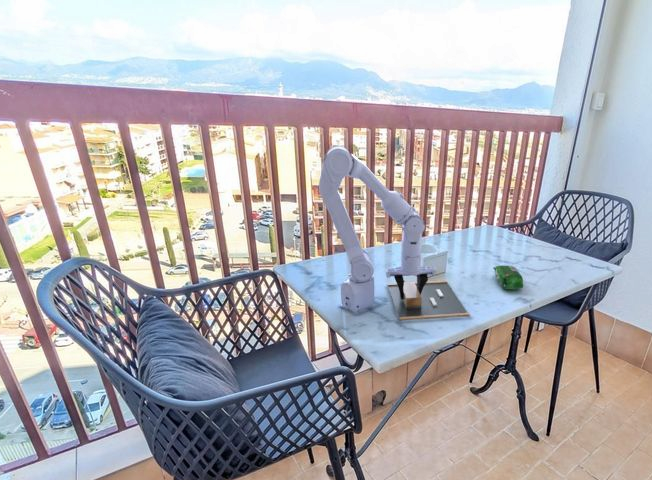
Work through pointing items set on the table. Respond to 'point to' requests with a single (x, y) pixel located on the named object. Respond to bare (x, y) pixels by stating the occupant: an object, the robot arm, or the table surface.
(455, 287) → the table surface
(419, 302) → the eraser
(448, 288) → the slate board
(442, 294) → the white chalk stick
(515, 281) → the snack package
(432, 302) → the white rectangular bar
